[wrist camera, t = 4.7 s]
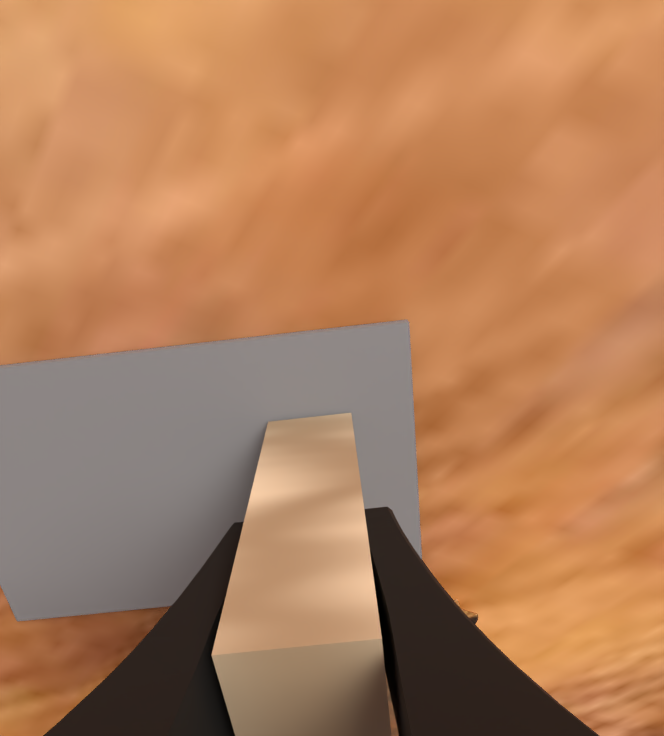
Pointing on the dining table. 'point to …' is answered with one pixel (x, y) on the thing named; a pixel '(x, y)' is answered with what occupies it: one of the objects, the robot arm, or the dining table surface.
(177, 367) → the felt mat
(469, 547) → the dining table surface
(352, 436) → the beech block
